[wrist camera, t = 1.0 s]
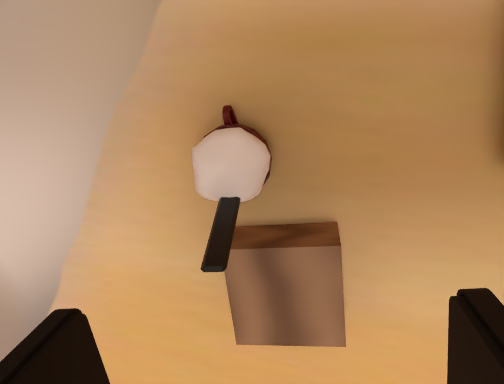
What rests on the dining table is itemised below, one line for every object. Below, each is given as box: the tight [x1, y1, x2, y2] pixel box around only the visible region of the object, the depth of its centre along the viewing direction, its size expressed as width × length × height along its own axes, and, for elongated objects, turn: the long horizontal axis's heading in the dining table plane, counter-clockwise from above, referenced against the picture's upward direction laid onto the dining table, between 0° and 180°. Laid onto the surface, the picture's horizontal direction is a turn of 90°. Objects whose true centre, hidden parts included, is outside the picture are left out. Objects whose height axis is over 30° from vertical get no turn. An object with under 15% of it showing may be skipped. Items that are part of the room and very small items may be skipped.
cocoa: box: [191, 105, 272, 272], centre depth 26 cm, size 10×6×12 cm, turn 164°
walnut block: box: [224, 222, 346, 347], centre depth 33 cm, size 10×10×5 cm
